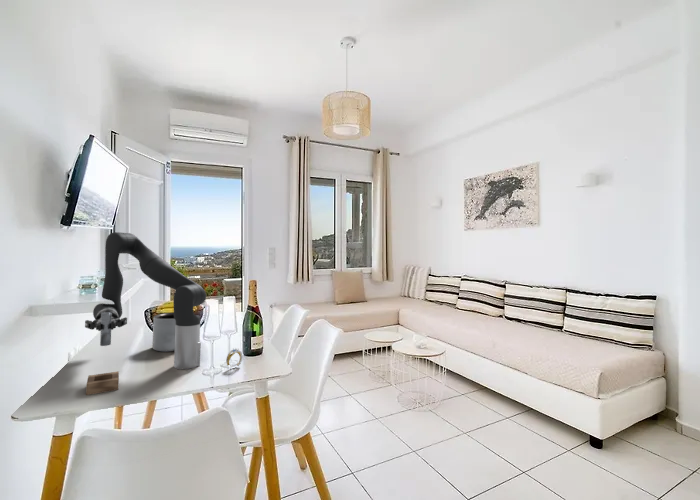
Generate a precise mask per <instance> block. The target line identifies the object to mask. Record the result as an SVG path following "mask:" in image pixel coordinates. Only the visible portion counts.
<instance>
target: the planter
mask: <svg viewBox="0 0 700 500" xmlns="http://www.w3.org/2000/svg"><path fill="white" fill-rule="evenodd" d="M175 326H176V321H175V318H174V312H166V313H165V312H164V313H159V314H156V315H154V316H153V325H152V327H153V328H152V342H151V343H152V345H151V347H152V349H153V350H154V351H156V352H161V353H162V352H163V353H165V352H166V353H167V352H174V351H175Z"/></svg>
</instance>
